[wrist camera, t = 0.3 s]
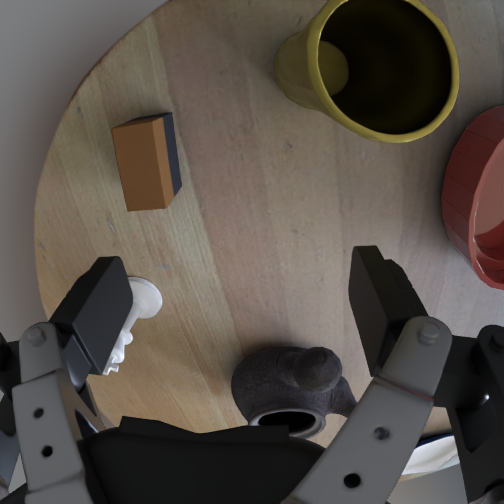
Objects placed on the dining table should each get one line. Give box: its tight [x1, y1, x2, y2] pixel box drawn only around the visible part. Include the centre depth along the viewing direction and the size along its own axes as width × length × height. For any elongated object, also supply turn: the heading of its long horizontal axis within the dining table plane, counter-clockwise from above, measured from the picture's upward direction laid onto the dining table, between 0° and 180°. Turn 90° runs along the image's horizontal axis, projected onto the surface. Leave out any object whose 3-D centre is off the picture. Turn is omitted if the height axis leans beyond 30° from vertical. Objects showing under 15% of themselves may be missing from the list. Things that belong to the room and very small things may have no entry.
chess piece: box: [103, 277, 162, 375], centre depth 27 cm, size 5×5×10 cm
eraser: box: [111, 113, 182, 211], centre depth 21 cm, size 6×3×4 cm, turn 4°
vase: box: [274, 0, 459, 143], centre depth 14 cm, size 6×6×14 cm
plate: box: [402, 433, 457, 475], centre depth 51 cm, size 20×20×3 cm
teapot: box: [231, 347, 357, 439], centre depth 30 cm, size 19×15×10 cm
